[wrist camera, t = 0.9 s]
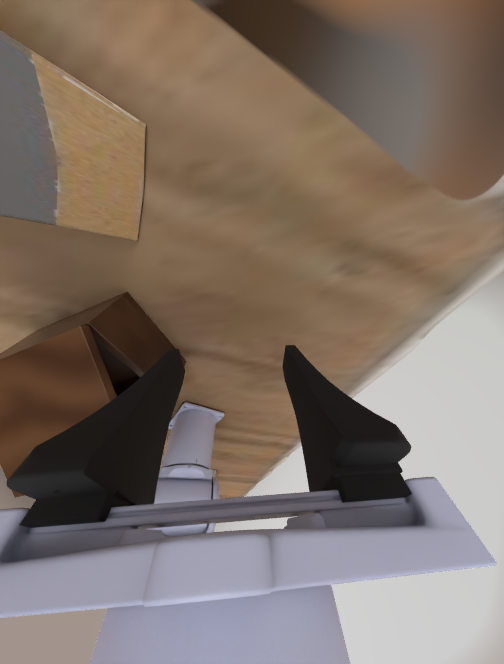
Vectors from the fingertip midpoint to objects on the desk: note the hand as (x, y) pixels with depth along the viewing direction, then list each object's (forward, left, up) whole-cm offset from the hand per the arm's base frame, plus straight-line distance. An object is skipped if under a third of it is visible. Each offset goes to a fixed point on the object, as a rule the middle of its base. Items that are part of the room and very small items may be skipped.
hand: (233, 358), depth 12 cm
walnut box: (-15, +10, -10) cm, 20 cm away
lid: (-14, +10, -1) cm, 18 cm away
